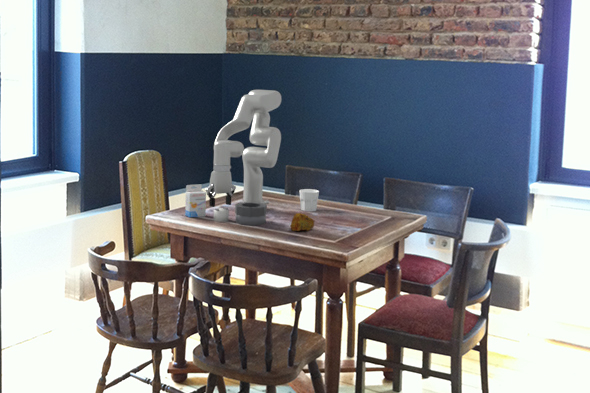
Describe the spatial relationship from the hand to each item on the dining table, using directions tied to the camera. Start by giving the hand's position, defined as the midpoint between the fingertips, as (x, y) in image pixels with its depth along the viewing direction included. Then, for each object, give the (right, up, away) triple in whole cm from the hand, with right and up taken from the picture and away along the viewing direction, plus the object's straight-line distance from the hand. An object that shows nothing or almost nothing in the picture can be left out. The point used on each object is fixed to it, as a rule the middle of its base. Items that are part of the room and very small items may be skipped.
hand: (220, 205), depth 304 cm
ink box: (-13, -5, +9) cm, 16 cm away
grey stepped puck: (+14, -8, +1) cm, 16 cm away
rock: (+37, -11, -11) cm, 40 cm away
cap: (0, -7, +2) cm, 7 cm away
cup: (+41, -3, +33) cm, 53 cm away
